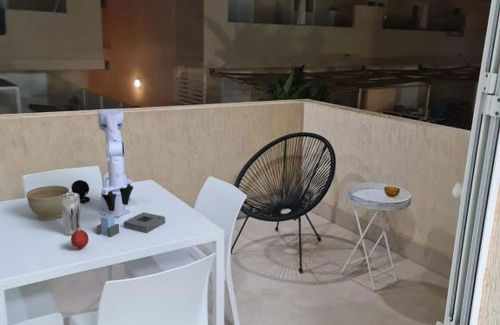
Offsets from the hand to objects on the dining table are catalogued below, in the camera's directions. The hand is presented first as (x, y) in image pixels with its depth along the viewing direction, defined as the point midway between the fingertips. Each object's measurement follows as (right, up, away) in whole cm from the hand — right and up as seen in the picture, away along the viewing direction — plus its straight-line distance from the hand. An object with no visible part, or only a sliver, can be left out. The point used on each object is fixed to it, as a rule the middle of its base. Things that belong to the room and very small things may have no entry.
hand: (118, 207), depth 178 cm
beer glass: (-18, -10, +1) cm, 20 cm away
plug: (-4, -10, +1) cm, 11 cm away
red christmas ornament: (-10, -14, -12) cm, 21 cm away
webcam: (-27, -1, +35) cm, 44 cm away
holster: (-4, -10, +1) cm, 11 cm away
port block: (+8, -8, +9) cm, 15 cm away
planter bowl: (-33, -6, +17) cm, 37 cm away
